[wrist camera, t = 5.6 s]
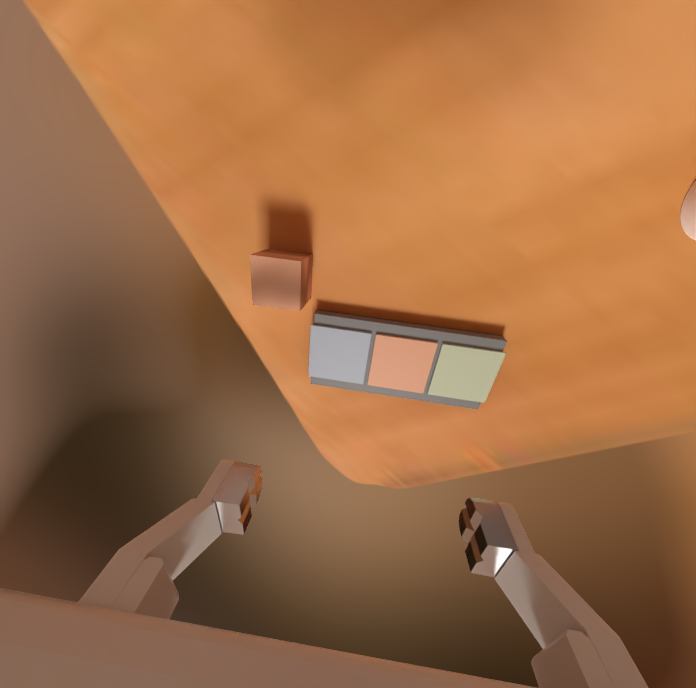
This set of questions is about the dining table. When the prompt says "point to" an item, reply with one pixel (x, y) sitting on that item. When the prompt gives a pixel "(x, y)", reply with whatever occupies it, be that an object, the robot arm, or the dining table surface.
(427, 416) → the dining table surface
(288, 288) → the terracotta cube
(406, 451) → the dining table surface
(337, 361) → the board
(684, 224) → the cylindrical container
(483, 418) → the dining table surface
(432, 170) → the dining table surface
